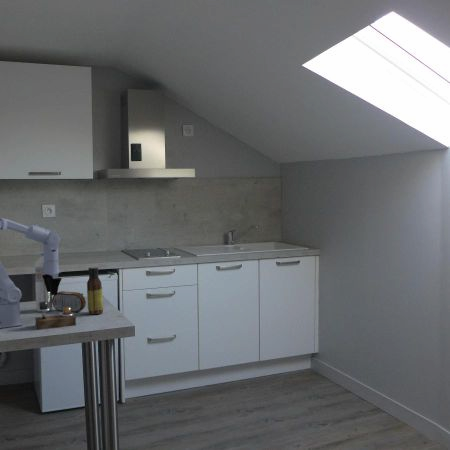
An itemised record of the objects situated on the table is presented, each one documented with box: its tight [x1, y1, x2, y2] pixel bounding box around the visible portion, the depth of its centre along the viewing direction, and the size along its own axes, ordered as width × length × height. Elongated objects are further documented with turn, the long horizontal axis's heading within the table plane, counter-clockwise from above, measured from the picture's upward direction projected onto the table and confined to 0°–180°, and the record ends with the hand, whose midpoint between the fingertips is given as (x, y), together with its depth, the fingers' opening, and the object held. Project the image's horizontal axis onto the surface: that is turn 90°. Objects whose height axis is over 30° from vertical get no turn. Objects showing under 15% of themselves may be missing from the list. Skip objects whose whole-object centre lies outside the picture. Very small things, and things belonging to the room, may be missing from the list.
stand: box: [34, 314, 77, 330], centre depth 237 cm, size 14×7×3 cm, turn 119°
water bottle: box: [34, 252, 53, 313], centre depth 260 cm, size 7×7×25 cm
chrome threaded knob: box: [36, 302, 51, 319], centre depth 234 cm, size 5×5×6 cm
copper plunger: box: [59, 307, 75, 317], centre depth 239 cm, size 5×5×6 cm
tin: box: [52, 290, 86, 313], centre depth 260 cm, size 15×3×8 cm, turn 74°
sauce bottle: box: [86, 266, 104, 315], centre depth 256 cm, size 7×6×20 cm
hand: (51, 293), depth 247 cm, fingers open, 7 cm apart
